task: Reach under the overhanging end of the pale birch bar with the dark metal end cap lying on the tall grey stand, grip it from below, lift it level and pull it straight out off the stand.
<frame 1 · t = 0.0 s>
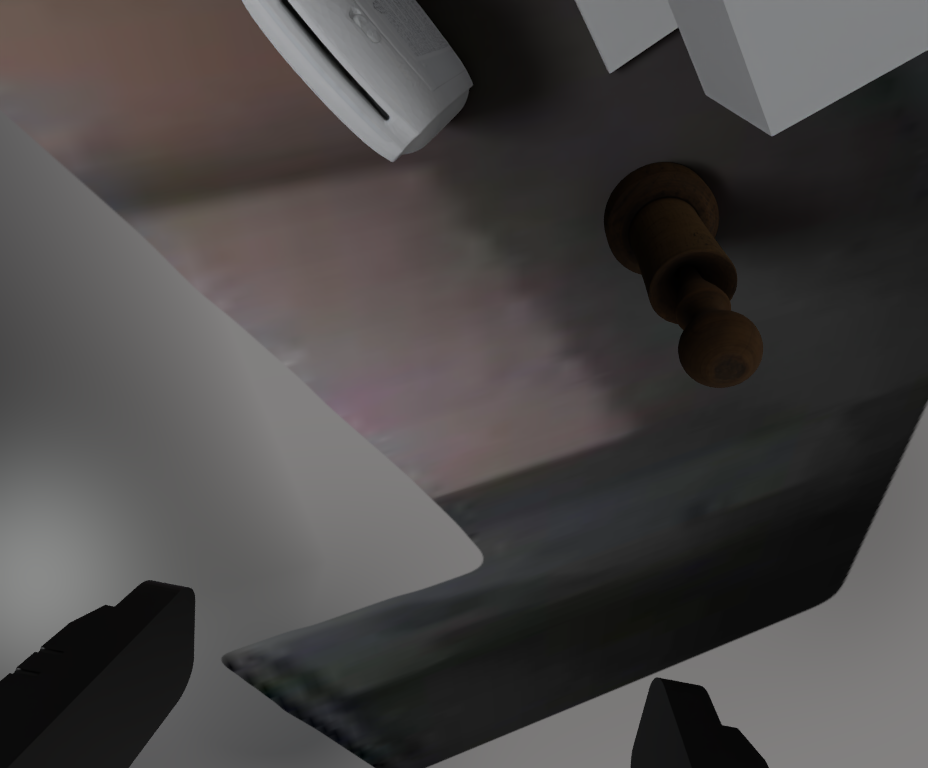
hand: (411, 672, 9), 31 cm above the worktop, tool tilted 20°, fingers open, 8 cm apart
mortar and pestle: (656, 214, 35), on the worktop
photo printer: (399, 36, 32), on the worktop
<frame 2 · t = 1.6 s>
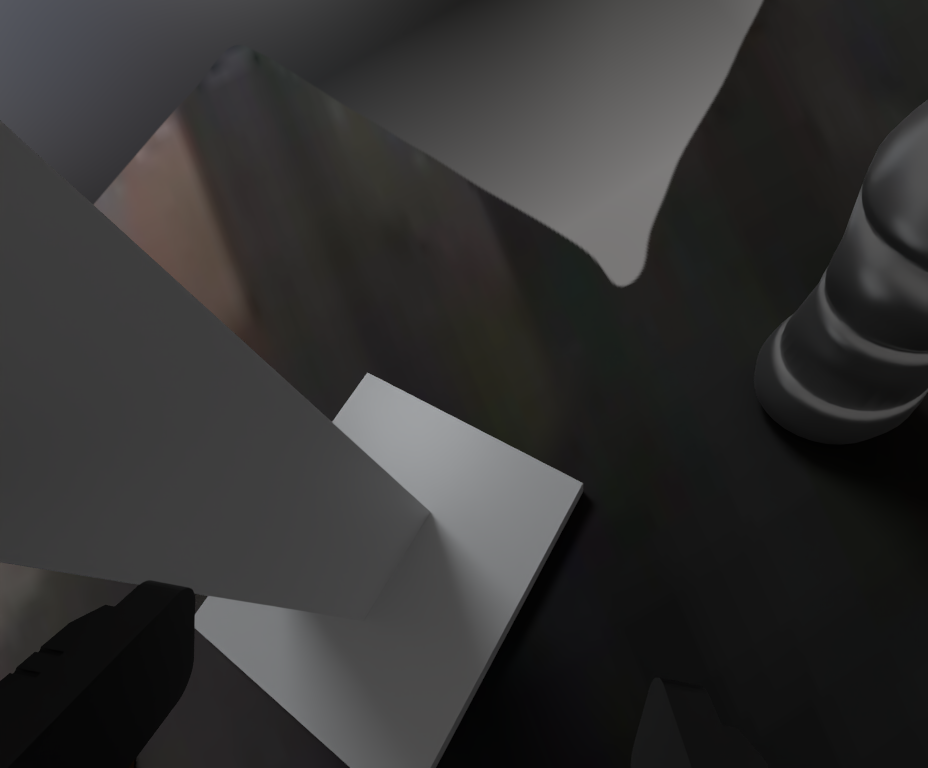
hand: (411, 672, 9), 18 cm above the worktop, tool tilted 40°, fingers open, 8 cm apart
stand: (392, 558, 29), on the worktop
plastic bottle: (814, 399, 28), on the worktop
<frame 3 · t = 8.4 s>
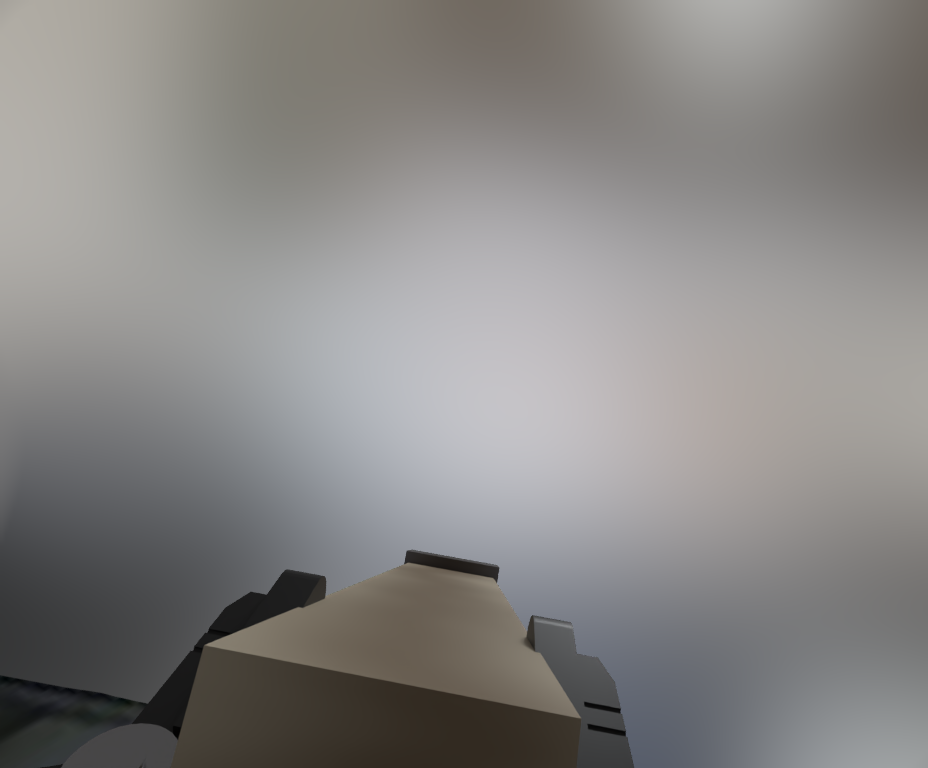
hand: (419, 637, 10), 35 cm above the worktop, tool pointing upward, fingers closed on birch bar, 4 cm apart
birch bar: (419, 713, 16), point 32 cm above the worktop, touching gripper, stand
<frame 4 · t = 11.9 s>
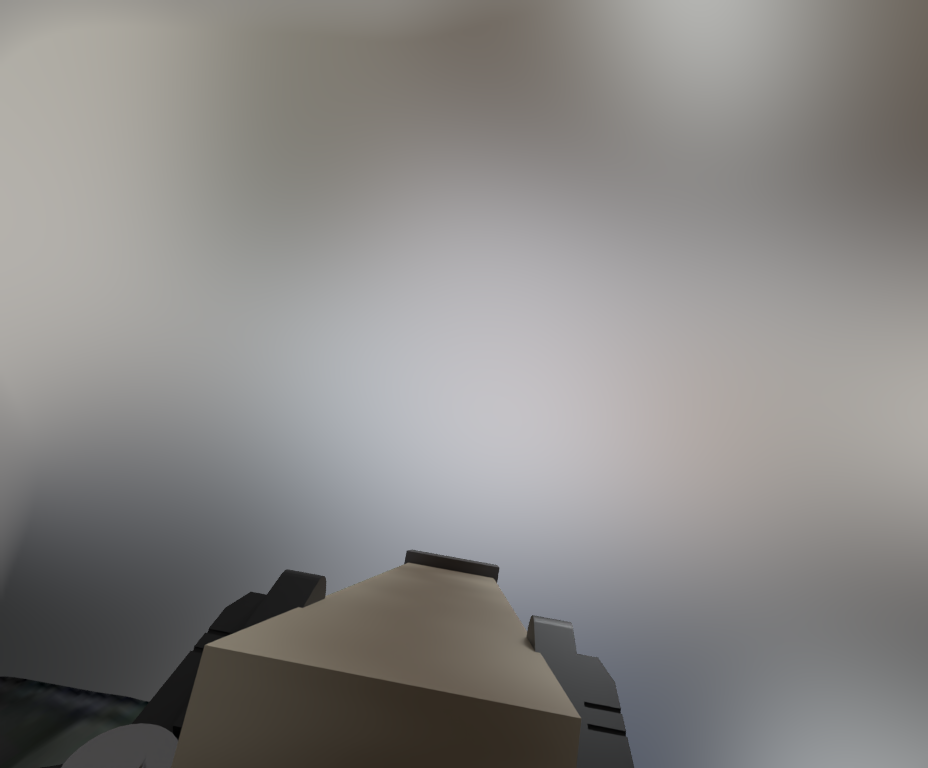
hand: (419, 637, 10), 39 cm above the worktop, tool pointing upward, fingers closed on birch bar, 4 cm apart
birch bar: (419, 713, 16), point 36 cm above the worktop, touching gripper
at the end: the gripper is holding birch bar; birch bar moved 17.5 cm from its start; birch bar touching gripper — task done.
